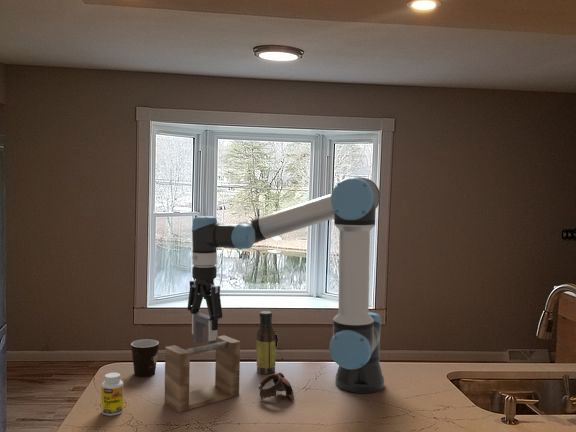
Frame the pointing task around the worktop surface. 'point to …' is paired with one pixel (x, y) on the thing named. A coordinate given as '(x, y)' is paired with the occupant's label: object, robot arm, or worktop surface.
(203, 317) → the u piece
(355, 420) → the worktop surface
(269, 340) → the sauce bottle
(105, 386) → the supplement bottle
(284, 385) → the brown looped piece
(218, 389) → the rack
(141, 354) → the coffee mug
